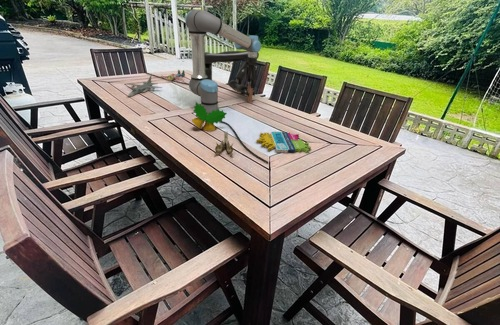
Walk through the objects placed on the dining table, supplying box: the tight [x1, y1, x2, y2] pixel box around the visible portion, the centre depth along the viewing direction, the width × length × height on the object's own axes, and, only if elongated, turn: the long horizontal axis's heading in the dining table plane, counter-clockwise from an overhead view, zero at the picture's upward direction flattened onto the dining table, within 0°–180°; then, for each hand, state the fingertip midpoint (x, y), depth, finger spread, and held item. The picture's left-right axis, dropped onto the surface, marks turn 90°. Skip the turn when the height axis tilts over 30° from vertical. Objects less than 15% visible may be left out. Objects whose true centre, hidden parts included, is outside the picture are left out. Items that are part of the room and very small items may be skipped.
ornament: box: [191, 102, 228, 132], centre depth 162 cm, size 21×8×15 cm, turn 105°
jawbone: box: [214, 131, 234, 156], centre depth 136 cm, size 9×15×10 cm
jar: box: [246, 85, 254, 104], centre depth 218 cm, size 5×5×16 cm
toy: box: [160, 69, 186, 82], centre depth 279 cm, size 28×7×30 cm
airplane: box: [126, 75, 163, 98], centre depth 227 cm, size 38×31×10 cm
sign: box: [256, 131, 312, 154], centre depth 152 cm, size 26×2×30 cm
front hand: (250, 87), depth 216 cm, fingers closed on lid, 5 cm apart
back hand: (251, 94), depth 217 cm, fingers closed on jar, 4 cm apart
